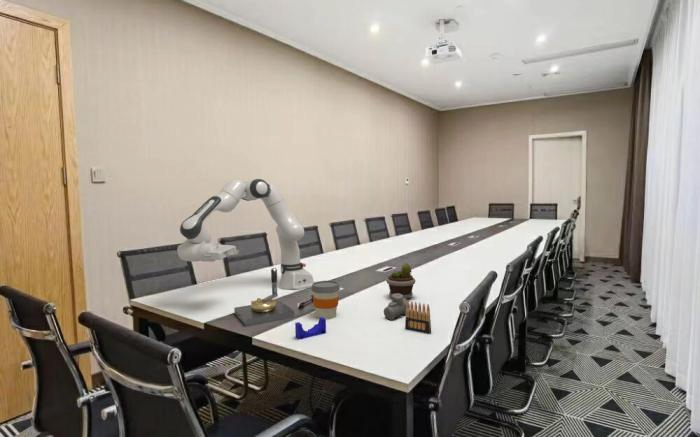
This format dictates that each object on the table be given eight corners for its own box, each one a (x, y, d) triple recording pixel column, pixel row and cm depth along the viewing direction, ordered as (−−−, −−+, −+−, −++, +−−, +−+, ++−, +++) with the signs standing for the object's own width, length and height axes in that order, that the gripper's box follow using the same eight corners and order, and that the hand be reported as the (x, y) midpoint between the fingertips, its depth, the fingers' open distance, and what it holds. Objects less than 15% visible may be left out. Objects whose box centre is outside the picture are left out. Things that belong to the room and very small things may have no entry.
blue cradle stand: (321, 330, 162) (320, 316, 161) (326, 333, 158) (325, 319, 158) (294, 336, 156) (293, 321, 155) (298, 340, 152) (298, 325, 151)
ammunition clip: (404, 329, 161) (404, 300, 160) (406, 327, 163) (406, 299, 162) (429, 334, 155) (429, 304, 154) (431, 332, 157) (431, 303, 156)
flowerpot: (381, 298, 205) (380, 261, 203) (398, 292, 216) (398, 257, 215) (403, 304, 195) (403, 264, 194) (420, 297, 206) (420, 260, 205)
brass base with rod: (267, 313, 174) (266, 276, 173) (246, 310, 178) (245, 274, 177) (286, 302, 190) (285, 268, 189) (266, 300, 194) (265, 267, 192)
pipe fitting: (396, 310, 184) (396, 289, 182) (410, 315, 179) (410, 294, 177) (380, 319, 176) (380, 298, 174) (394, 325, 170) (394, 303, 168)
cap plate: (279, 306, 196) (278, 299, 195) (294, 317, 178) (294, 310, 178) (234, 313, 184) (234, 307, 184) (246, 326, 167) (245, 319, 167)
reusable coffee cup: (329, 322, 171) (328, 288, 169) (306, 317, 177) (306, 285, 176) (345, 314, 181) (344, 282, 180) (323, 310, 188) (322, 279, 187)
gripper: (200, 249, 181) (229, 249, 179) (219, 243, 201) (245, 243, 200) (201, 262, 181) (230, 262, 180) (219, 255, 201) (245, 255, 200)
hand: (238, 252), depth 190 cm, fingers closed
